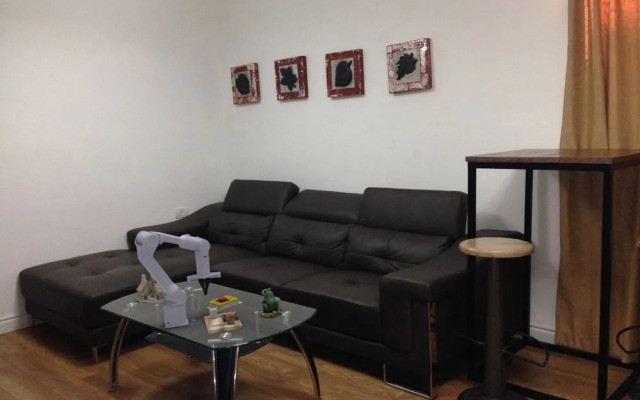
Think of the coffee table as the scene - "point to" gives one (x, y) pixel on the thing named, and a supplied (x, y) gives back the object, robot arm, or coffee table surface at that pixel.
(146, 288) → the ceramic cottage
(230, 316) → the walnut slider
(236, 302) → the emergency button
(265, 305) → the frog figurine
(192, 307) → the coffee table surface
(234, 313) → the red push button
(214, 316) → the grey slider
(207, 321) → the control panel
